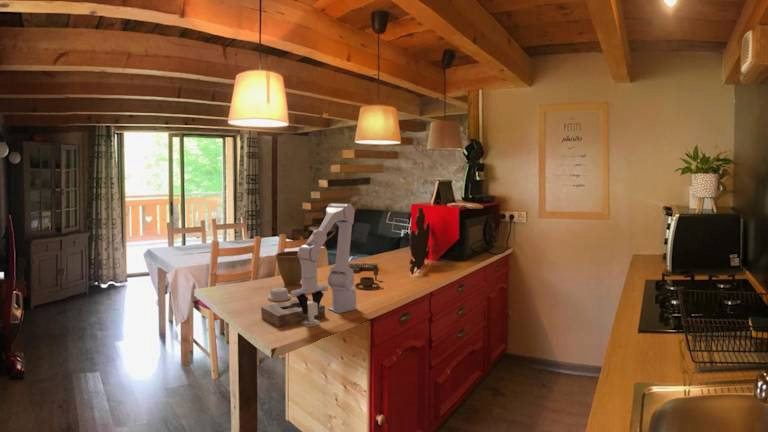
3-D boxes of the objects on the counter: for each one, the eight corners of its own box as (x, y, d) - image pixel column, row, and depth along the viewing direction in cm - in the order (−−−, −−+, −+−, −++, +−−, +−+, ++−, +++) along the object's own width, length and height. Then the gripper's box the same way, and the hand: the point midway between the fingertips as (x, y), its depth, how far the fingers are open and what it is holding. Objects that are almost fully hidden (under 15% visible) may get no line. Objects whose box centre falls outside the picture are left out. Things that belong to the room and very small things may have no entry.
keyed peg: (313, 321, 184) (312, 299, 183) (319, 324, 180) (319, 302, 179) (301, 324, 181) (300, 302, 180) (307, 327, 177) (307, 305, 176)
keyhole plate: (306, 308, 201) (306, 297, 201) (325, 316, 190) (324, 305, 189) (261, 317, 189) (261, 306, 189) (278, 327, 177) (277, 315, 177)
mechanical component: (282, 294, 224) (263, 298, 217) (282, 285, 224) (263, 289, 217) (294, 298, 217) (275, 303, 210) (294, 289, 216) (275, 293, 209)
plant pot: (283, 280, 250) (282, 250, 249) (310, 281, 248) (309, 251, 246) (272, 287, 236) (270, 255, 234) (301, 288, 233) (300, 256, 232)
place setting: (346, 287, 238) (345, 275, 238) (375, 280, 252) (375, 269, 251) (370, 293, 226) (370, 281, 225) (399, 286, 240) (399, 274, 239)
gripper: (320, 272, 186) (321, 306, 188) (286, 277, 177) (287, 313, 179) (330, 275, 181) (331, 310, 182) (295, 281, 172) (296, 318, 173)
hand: (310, 312), depth 180 cm, fingers closed on keyed peg, 4 cm apart
